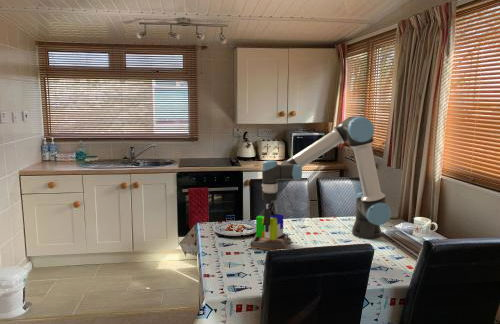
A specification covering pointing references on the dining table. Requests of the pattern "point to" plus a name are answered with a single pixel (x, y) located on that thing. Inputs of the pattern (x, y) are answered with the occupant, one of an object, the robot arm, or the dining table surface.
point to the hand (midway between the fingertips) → (269, 234)
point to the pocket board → (270, 243)
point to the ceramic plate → (234, 227)
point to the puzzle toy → (275, 226)
